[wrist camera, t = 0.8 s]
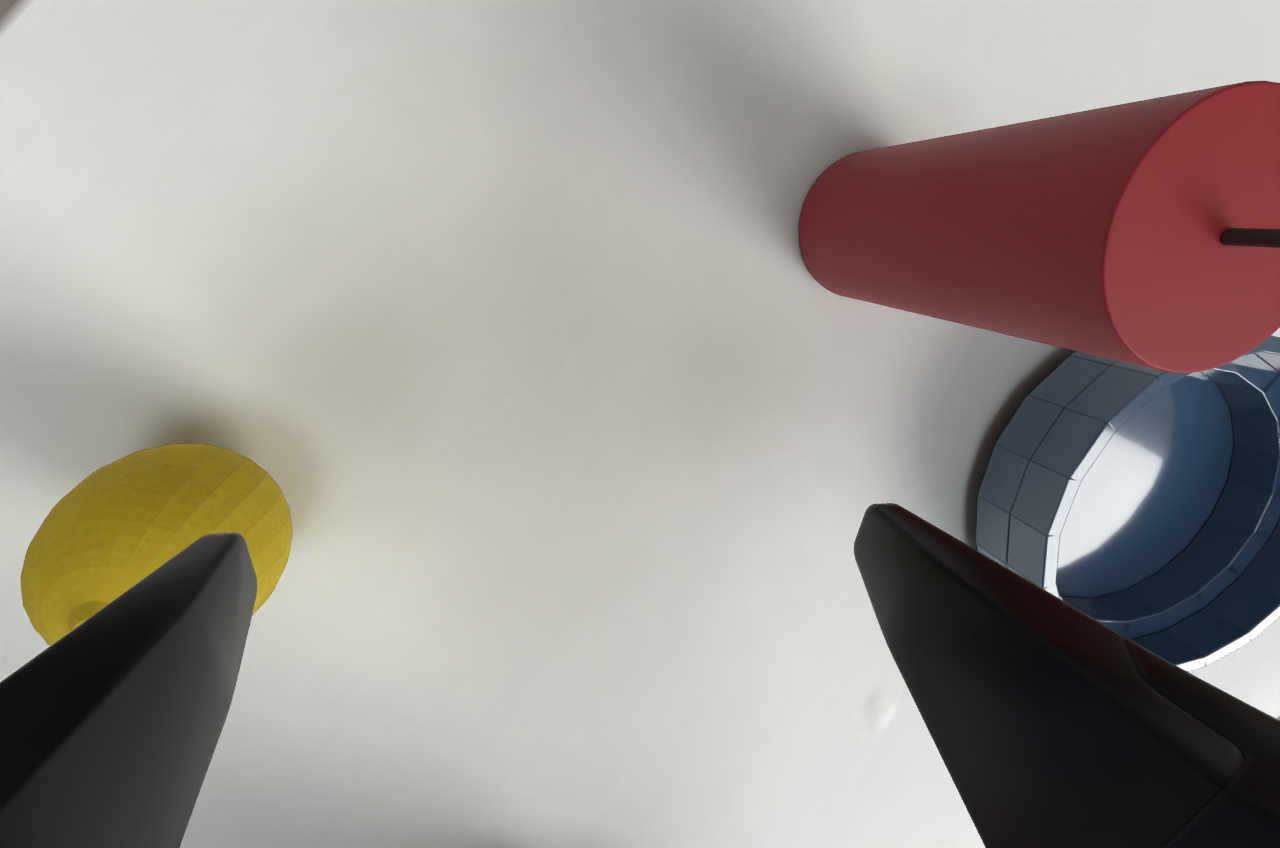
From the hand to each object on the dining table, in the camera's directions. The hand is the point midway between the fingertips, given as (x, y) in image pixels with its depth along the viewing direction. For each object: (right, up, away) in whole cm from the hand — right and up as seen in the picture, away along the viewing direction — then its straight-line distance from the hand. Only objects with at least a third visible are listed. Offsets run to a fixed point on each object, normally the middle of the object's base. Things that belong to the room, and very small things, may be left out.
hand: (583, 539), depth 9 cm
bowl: (+22, -1, +19) cm, 29 cm away
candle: (+9, +9, +14) cm, 19 cm away
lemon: (-13, 0, +12) cm, 18 cm away
